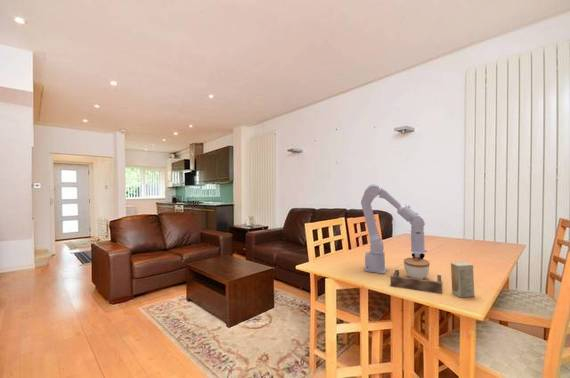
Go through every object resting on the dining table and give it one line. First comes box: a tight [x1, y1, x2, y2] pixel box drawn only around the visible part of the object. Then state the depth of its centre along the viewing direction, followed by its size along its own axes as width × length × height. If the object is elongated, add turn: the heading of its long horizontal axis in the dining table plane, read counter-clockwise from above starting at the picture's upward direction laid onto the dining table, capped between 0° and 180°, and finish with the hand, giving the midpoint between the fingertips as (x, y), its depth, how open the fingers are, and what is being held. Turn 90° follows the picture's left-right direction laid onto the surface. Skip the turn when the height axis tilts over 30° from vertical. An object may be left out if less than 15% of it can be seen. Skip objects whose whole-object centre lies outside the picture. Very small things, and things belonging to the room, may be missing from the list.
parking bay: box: [390, 269, 443, 294], centre depth 116 cm, size 19×16×4 cm
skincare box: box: [450, 261, 475, 298], centre depth 103 cm, size 6×4×12 cm
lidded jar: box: [403, 257, 431, 280], centre depth 123 cm, size 11×11×9 cm
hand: (418, 268), depth 128 cm, fingers closed
